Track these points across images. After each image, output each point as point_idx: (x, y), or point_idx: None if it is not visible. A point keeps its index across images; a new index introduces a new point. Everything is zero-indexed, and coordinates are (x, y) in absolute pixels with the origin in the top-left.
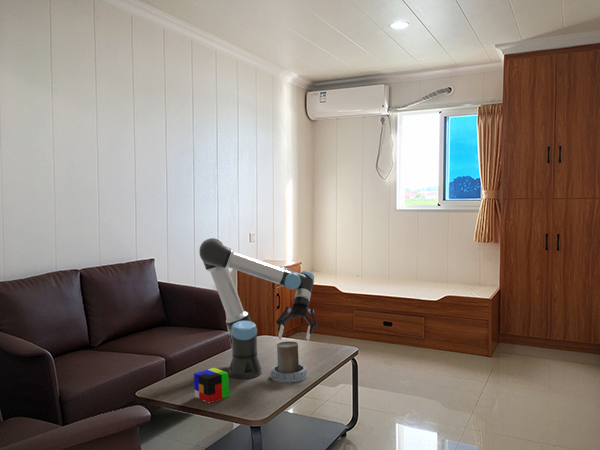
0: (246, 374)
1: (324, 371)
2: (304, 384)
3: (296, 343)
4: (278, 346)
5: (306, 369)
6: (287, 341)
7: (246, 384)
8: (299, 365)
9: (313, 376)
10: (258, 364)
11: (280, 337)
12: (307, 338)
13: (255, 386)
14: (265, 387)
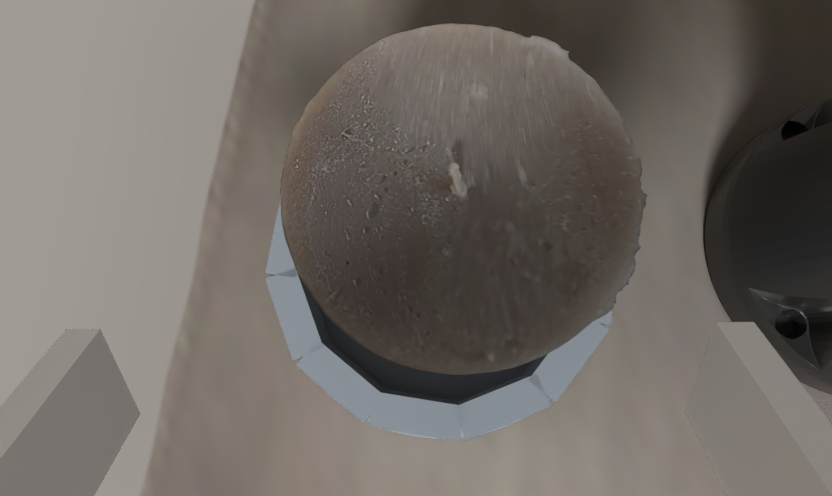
0: (789, 115)
1: (169, 471)
2: (265, 128)
3: (308, 240)
4: (563, 56)
5: (266, 268)
6: (455, 163)
7: (699, 22)
8: (372, 383)
9: (238, 317)
10: (773, 229)
11: (706, 382)
12: (76, 338)
13: (611, 3)
14: (530, 4)
